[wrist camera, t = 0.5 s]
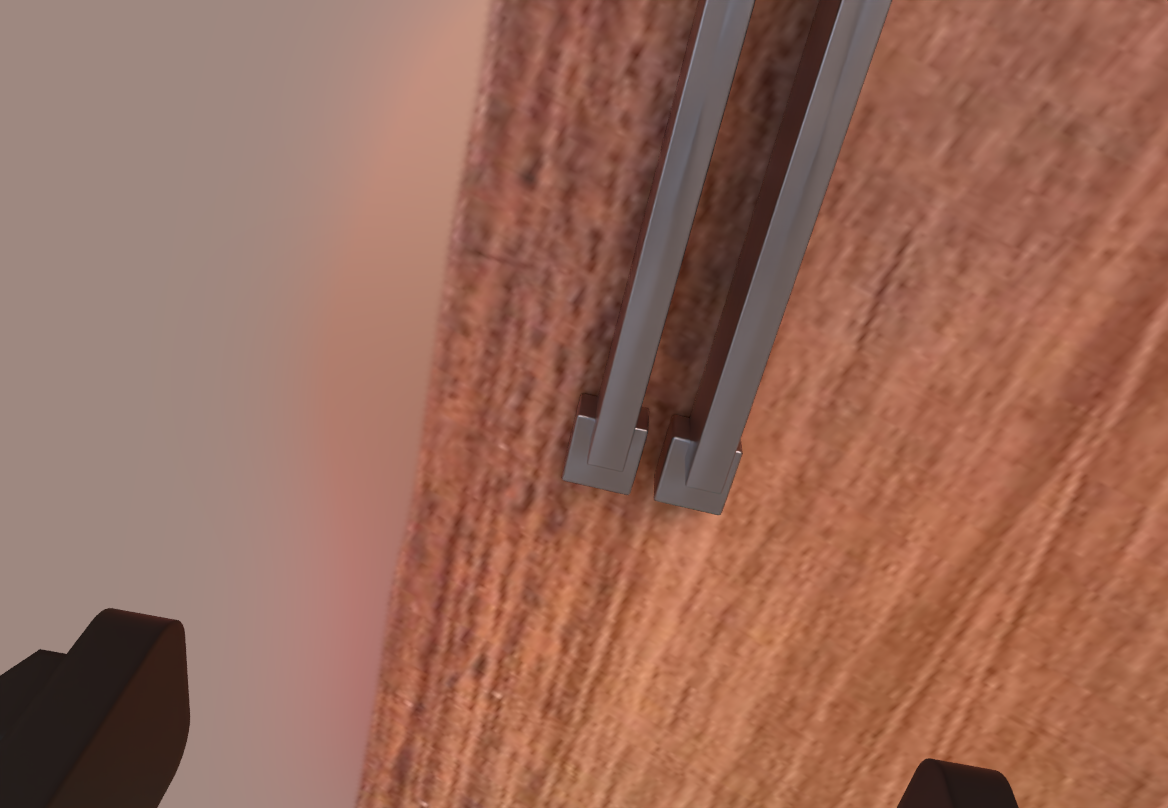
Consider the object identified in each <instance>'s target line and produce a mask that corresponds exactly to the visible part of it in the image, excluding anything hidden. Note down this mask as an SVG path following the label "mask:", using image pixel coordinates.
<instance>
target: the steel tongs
mask: <svg viewBox="0 0 1168 808" xmlns="http://www.w3.org/2000/svg"><path fill="white" fill-rule="evenodd" d="M891 3H892V0H819V4H818V7H817V10H816V13H815V16H814V20H813V23H812V26H811V29H810V32H809V36H808V39H807V42H806V45H805V49H804V52H803V55H802V58H801V61H800V65H799V68H798V71H797V74H796V77H795V81H794V84H793V87H792V90H791V94H790V97H789V100H788V103H787V106H786V110H785V113H784V116H783V119H782V123H781V126H780V129H779V132H778V135H777V139H776V142H775V145H774V148H773V151H772V155H771V158H770V161H769V164H768V168H767V171H766V174H765V177H764V180H763V184H762V187H761V190H760V193H759V196H758V200H757V203H756V206H755V209H754V213H753V216H752V219H751V222H750V225H749V229H748V232H747V235H746V238H745V241H744V245H743V248H742V251H741V254H740V258H739V261H738V264H737V267H736V270H735V274H734V277H733V280H732V283H731V287H730V290H729V293H728V296H727V299H726V303H725V306H724V309H723V312H722V315H721V319H720V322H719V325H718V328H717V332H716V335H715V338H714V341H713V344H712V348H711V351H710V354H709V357H708V360H707V364H706V367H705V370H704V373H703V377H702V380H701V383H700V386H699V389H698V393H697V396H696V399H695V402H694V406H693V409H692V412H691V415H690V418H687V417H683V416H679V415H673V416H672V418H671V421H670V425H669V428H668V431H667V435H666V438H665V441H664V445H663V448H662V451H661V455H660V458H659V461H658V465H657V468H656V471H655V475H654V500H655V501H657V502H662V503H666V504H671V505H675V506H680V507H684V508H688V509H693V510H697V511H702V512H706V513H711V514H715V515H721V513H722V511H723V508H724V505H725V503H726V500H727V497H728V494H729V491H730V488H731V485H732V483H733V480H734V477H735V474H736V471H737V468H738V466H739V463H740V460H741V457H742V454H743V453H742V445H741V436H742V433H743V431H744V428H745V425H746V422H747V419H748V416H749V413H750V410H751V407H752V405H753V402H754V399H755V396H756V393H757V390H758V387H759V384H760V381H761V379H762V376H763V373H764V370H765V367H766V364H767V361H768V358H769V355H770V352H771V350H772V347H773V344H774V341H775V338H776V335H777V332H778V329H779V326H780V324H781V321H782V318H783V315H784V312H785V309H786V306H787V303H788V300H789V298H790V295H791V292H792V289H793V286H794V283H795V280H796V277H797V274H798V272H799V269H800V266H801V263H802V260H803V257H804V254H805V251H806V248H807V245H808V243H809V240H810V237H811V234H812V231H813V228H814V225H815V222H816V219H817V217H818V214H819V211H820V208H821V205H822V202H823V199H824V196H825V193H826V191H827V188H828V185H829V182H830V179H831V176H832V173H833V170H834V167H835V164H836V162H837V159H838V156H839V153H840V150H841V147H842V144H843V141H844V138H845V136H846V133H847V130H848V127H849V124H850V121H851V118H852V115H853V112H854V110H855V107H856V104H857V101H858V98H859V95H860V92H861V89H862V86H863V84H864V81H865V78H866V75H867V72H868V69H869V66H870V63H871V60H872V57H873V55H874V52H875V49H876V46H877V43H878V40H879V37H880V34H881V31H882V29H883V26H884V23H885V20H886V17H887V14H888V11H889V8H890V5H891ZM754 4H755V0H699V1H698V5H697V9H696V13H695V17H694V21H693V25H692V28H691V32H690V36H689V40H688V44H687V48H686V52H685V56H684V60H683V64H682V68H681V72H680V76H679V80H678V84H677V88H676V92H675V96H674V100H673V104H672V107H671V111H670V115H669V119H668V123H667V127H666V131H665V135H664V139H663V143H662V147H661V151H660V155H659V159H658V163H657V167H656V171H655V175H654V179H653V183H652V186H651V190H650V194H649V198H648V202H647V206H646V210H645V214H644V218H643V222H642V226H641V230H640V234H639V238H638V242H637V246H636V250H635V254H634V258H633V261H632V265H631V269H630V273H629V277H628V281H627V285H626V289H625V293H624V297H623V301H622V305H621V309H620V313H619V317H618V321H617V325H616V329H615V333H614V337H613V340H612V344H611V348H610V352H609V356H608V360H607V364H606V368H605V372H604V376H603V380H602V384H601V388H600V392H599V396H598V397H597V396H592V395H588V394H581V395H580V399H579V403H578V407H577V412H576V416H575V420H574V424H573V428H572V432H571V436H570V440H569V445H568V449H567V453H566V457H565V463H564V468H563V473H562V480H563V481H567V482H572V483H576V484H581V485H585V486H589V487H594V488H598V489H603V490H607V491H612V492H616V493H620V494H625V495H629V494H630V493H631V490H632V486H633V483H634V479H635V476H636V472H637V469H638V466H639V462H640V459H641V455H642V452H643V448H644V445H645V441H646V438H647V434H648V425H649V409H648V408H645V407H642V403H643V400H644V396H645V393H646V389H647V386H648V382H649V378H650V375H651V371H652V368H653V364H654V361H655V357H656V353H657V350H658V346H659V343H660V339H661V336H662V332H663V328H664V325H665V321H666V318H667V314H668V311H669V307H670V304H671V300H672V296H673V293H674V289H675V286H676V282H677V279H678V275H679V271H680V268H681V264H682V261H683V257H684V254H685V250H686V246H687V243H688V239H689V236H690V232H691V229H692V225H693V221H694V218H695V214H696V211H697V207H698V204H699V200H700V197H701V193H702V189H703V186H704V182H705V179H706V175H707V172H708V168H709V164H710V161H711V157H712V154H713V150H714V147H715V143H716V139H717V136H718V132H719V129H720V125H721V122H722V118H723V115H724V111H725V107H726V104H727V100H728V97H729V93H730V90H731V86H732V82H733V79H734V75H735V72H736V68H737V65H738V61H739V57H740V54H741V50H742V47H743V43H744V40H745V36H746V32H747V29H748V25H749V22H750V18H751V15H752V11H753V8H754Z"/></svg>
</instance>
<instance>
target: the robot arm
mask: <svg viewBox="0 0 1168 808" xmlns="http://www.w3.org/2000/svg"><path fill="white" fill-rule="evenodd" d="M188 692H189V691H188V675H187V661H186V643H185V631H184V627H183V625H182V623H181V622H180V621H179V620H174V619H168V618H162V617H157V616H152V615H146V614H140V613H135V612H129V611H123V610H118V609H113V608H108V609H105V610H103V611H101V612H100V613H99V614H98V615H97V616H96V617H95V618H94V619H93V620H92V621H91V623H90V624H89V626H88V627H87V628H86V629H85V631H84V632H83V633H82V635H81V636H80V637H79V639H78V640H77V641H76V642H75V644H74V645H73V646H72V648H71V649H70V650H69V652H68V653H67V654H64V653H58V652H52V651H46V650H41V649H40V650H38V651H37V652H35V653H34V654H32V655H31V656H29V657H28V658H26V659H25V660H23V661H22V662H20V663H19V664H17V665H16V666H14V667H13V668H11V669H10V670H8V671H7V672H5V673H4V674H2V675H1V676H0V808H157V807H158V805H159V803H160V801H161V800H162V798H163V796H164V794H165V792H166V791H167V789H168V787H169V785H170V783H171V781H172V779H173V777H174V776H175V773H176V771H177V769H178V766H179V764H180V761H181V759H182V756H183V753H184V749H185V746H186V742H187V738H188V732H189V726H190V708H189V693H188ZM897 808H1018V805H1017V802H1016V800H1015V797H1014V794H1013V792H1012V789H1011V787H1010V784H1009V782H1008V781H1007V779H1006V778H1005V777H1004V775H1003V774H1002V773H1000V772H999V771H996V770H991V769H985V768H980V767H974V766H969V765H963V764H958V763H952V762H946V761H941V760H935V759H930V758H929V759H925V760H924V761H922V762H921V763H920V765H919V766H918V768H917V769H916V771H915V773H914V775H913V777H912V779H911V781H910V783H909V785H908V787H907V789H906V791H905V793H904V795H903V797H902V799H901V801H900V803H899V805H898V806H897Z"/></svg>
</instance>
